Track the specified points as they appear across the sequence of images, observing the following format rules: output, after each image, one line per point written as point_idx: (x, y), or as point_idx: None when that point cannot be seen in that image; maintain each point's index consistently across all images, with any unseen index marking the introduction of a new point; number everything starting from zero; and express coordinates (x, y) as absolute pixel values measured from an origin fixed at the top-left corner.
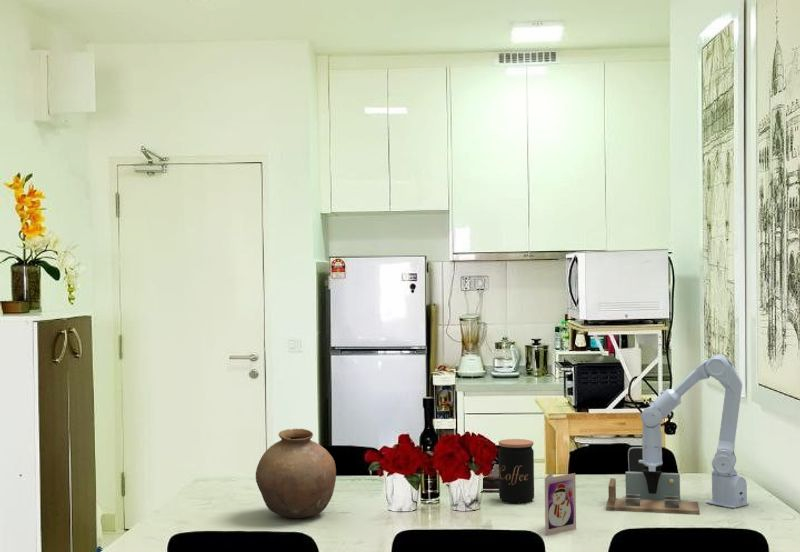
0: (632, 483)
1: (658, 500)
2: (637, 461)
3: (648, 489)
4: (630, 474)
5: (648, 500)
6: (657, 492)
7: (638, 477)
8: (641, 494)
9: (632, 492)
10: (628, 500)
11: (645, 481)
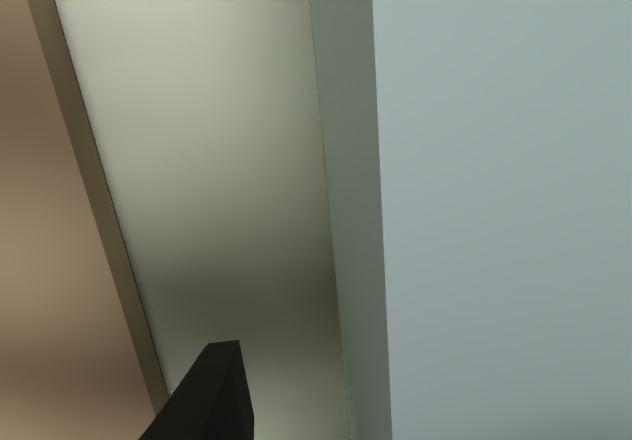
0: (331, 81)
1: (125, 408)
2: None
3: (181, 382)
4: (367, 42)
5: (66, 311)
6: (352, 415)
7: (370, 322)
8: (330, 198)
9: (319, 55)
10: None
11: (360, 404)
